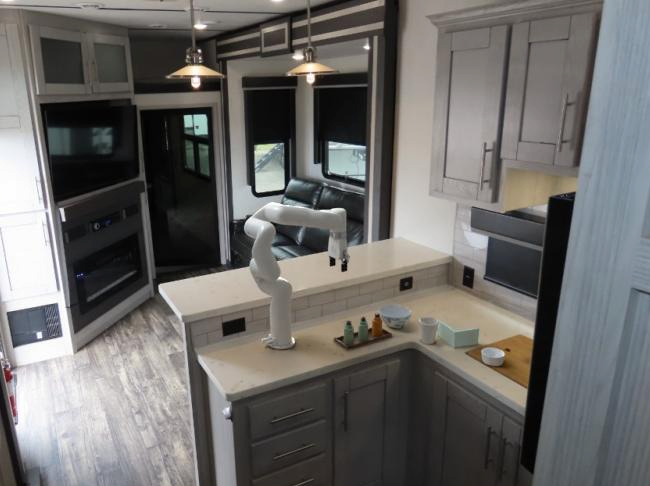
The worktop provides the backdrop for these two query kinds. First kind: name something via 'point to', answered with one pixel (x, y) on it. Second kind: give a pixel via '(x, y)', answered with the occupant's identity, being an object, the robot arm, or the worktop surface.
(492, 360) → the ramekin
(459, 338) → the l-shaped corner panel
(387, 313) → the chinaware
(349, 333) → the green bottle
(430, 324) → the dixie cup
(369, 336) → the tray
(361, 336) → the green bottle
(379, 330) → the amber bottle
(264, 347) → the worktop surface
